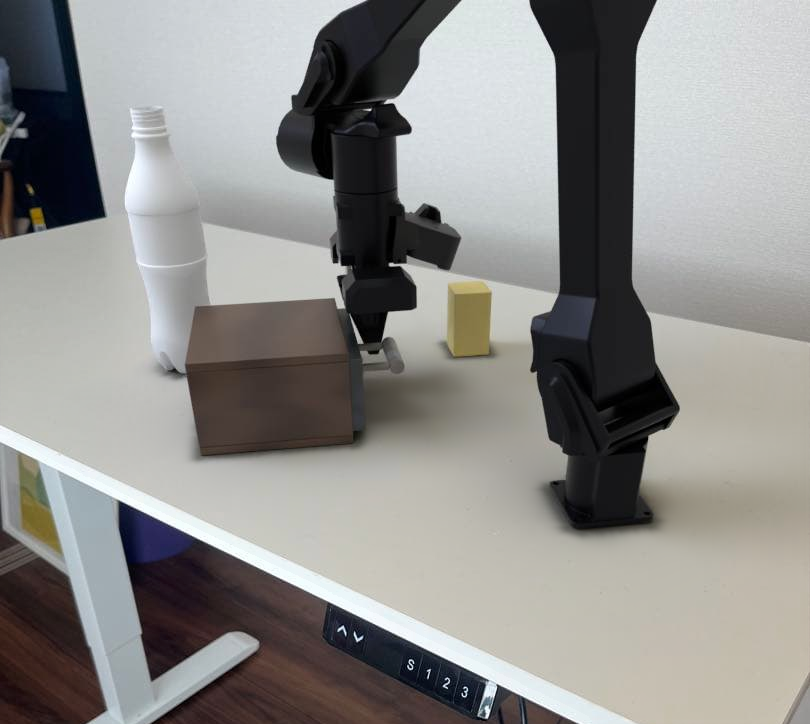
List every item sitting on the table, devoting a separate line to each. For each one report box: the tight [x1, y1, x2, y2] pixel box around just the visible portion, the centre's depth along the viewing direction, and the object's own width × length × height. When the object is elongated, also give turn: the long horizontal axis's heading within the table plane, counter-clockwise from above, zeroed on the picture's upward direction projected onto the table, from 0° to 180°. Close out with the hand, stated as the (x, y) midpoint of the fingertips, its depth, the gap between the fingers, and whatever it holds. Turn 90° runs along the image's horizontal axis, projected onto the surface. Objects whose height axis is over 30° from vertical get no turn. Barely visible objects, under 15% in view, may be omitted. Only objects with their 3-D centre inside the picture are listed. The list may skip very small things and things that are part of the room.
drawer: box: [337, 307, 406, 432], centre depth 77 cm, size 17×13×7 cm
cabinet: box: [185, 297, 354, 456], centre depth 77 cm, size 14×15×9 cm
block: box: [446, 280, 493, 358], centre depth 90 cm, size 4×4×7 cm
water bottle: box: [124, 105, 212, 375], centre depth 82 cm, size 7×7×25 cm
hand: (373, 353), depth 82 cm, fingers closed
